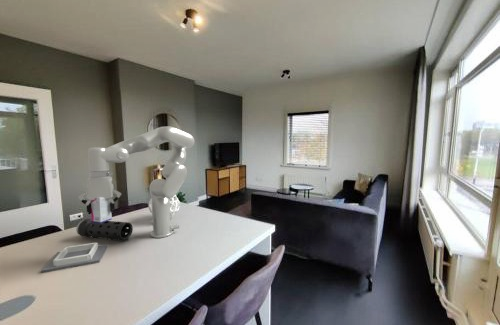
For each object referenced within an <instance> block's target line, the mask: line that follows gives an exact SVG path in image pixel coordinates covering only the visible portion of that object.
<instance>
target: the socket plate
mask: <svg viewBox="0 0 500 325" xmlns="http://www.w3.org/2000/svg"><path fill="white" fill-rule="evenodd" d="M107 248H108V244H102V245H99V244H98V242H92V243H91V242H90V243H83V244H76V245H71V246H67V247H64V248H63V249H62V250H61V251H59V252H58V251H57V253H56V254H54V255H53V257H51V259H49V261H48V262H47V263H46V265H45V266H43V267H42V268H41V270H40V273H41V274H44V273H49V272H55V271H60V270H66V269H71V268H77V267H81V266H87V265H93V264H97V263H98V264H99V263H100V262H101V260H102V258H103V256H104V255H105V253H106V250H107Z"/></svg>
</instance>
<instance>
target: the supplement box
mask: <svg viewBox="0 0 500 325" xmlns="http://www.w3.org/2000/svg"><path fill="white" fill-rule="evenodd" d="M110 204H111V202H110V200H109V199H105V198H104V197H99V198H95V200H92V201H91V214H90V215H91V216H90V219H92V222H95V223H103V222H106V221H112V218H113V217H112V216H113V215H112V212H111V211H110Z"/></svg>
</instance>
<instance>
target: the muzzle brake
mask: <svg viewBox="0 0 500 325" xmlns="http://www.w3.org/2000/svg"><path fill="white" fill-rule="evenodd" d="M133 228H134V227H133V223H132V222H129V221H128V222H126V221H117V220H115V221H113V220H109V221H106V222H103V223H95V222H92V219H91V218H86V219H82V220H80V221H79V222H78V224H77V225H76V227H75V229H76V233H77V234H78V235H79V236H81V237H83V238H92V239H96V240H97V239H106V240H111V241H119V242H120V241H121V242H126V241H128V239H129V238H131V236H132V234H133Z"/></svg>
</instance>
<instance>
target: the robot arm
mask: <svg viewBox="0 0 500 325" xmlns="http://www.w3.org/2000/svg"><path fill="white" fill-rule="evenodd" d="M195 142H196V140H195V138H194V136H193V135H192V134H190V133H188V132H186V131H183V130H182V129H179V128H177V127H174V126H160V127H157V128H154V129H152V130H150V131H146V132H144V133H142V134H140V135H137V136H134V137H131V138H129V139H126V140H123V141H120V142H118V143H115V144H112V145H110V146H108V147H98V146H97V147H95V146H94V147H90V148H88V149H87V157H88V159H87V161H88V162H87V163H88V175H89V176H88V177H87V180H86V190H85V192H83V193H81V194H80V195H78V196H77V199H78V200H79V201H81V203H82V204H84V205H85V206H86V213H88V215H91V201H92V200H95V198H99V197H104V198H105V199H109V200H110V202H111V204H110V211H111V213H113V212H114V210H116V207H115V203H116V202H117V200H119V198H120V197H121V196H122V193H121V192H120V191H118V190H116V189H114V188H115V187H114V183H113V177H112V175H113V174H114V172H113V171H110V165H109V164H110V163H115V164H116V163H117V164H120V163H121V164H122V163H124V162H126V161H128V159H129V156H130V155H131V154H135V153H141V152H147V151H149V150H151V149H153V148H155V147H157V146H159V145H161V144H164V143H170V145H171V148H172V154H171V156H170V157H169V159H168V160H167V162H166V163H165V165H164V166H163V168H162V170H161V175H162V176H163V178H156V179H154V180H152V181H151V182H150V184H149V188H148V189H149V194H150V199H151V200H152V213H151V215H152V229H153V230H152V231H151V232H149V233H150V234H149V235H150V237H152V238H156V239H158V238H159V239H161V238H166V237H169V236H171V235H173V234H174V233H175V230H179V229H180V225H177V224H178V223H177V224H172V221H171V220H172V219H171V218H172V217H171V215H170V213H171V212H170V204H171V203H170V200H169V199H170V198H172V197H173V196H175V195H176V196H177V193H178V192H179V190H180V188H181V187H182V185H183V183H184V182H185V180H186V178H187V176H188V170H187V169H188V168H187V167H186V166H185V165H184V164H185V162H186V161H187V160H186V159H187V151H186V150H188V149H191V148H193V147H194V146H195ZM164 178H165V179H164ZM114 195H116V196H115V197H113V196H114ZM85 197H86V199H85Z"/></svg>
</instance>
